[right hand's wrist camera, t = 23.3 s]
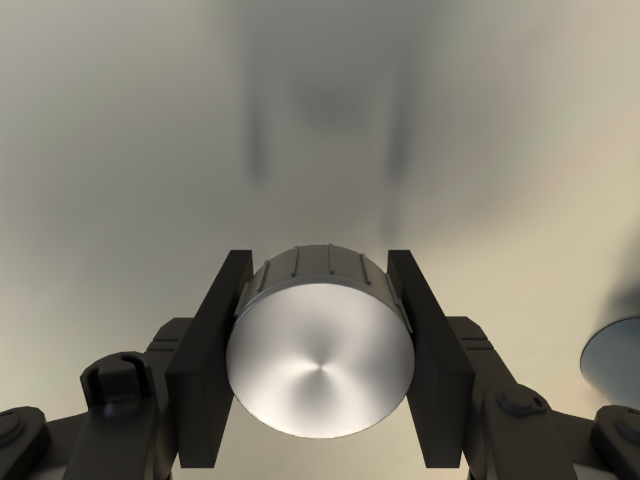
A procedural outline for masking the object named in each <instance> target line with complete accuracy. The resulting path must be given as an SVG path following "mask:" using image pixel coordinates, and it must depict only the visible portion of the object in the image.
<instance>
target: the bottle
mask: <svg viewBox="0 0 640 480" xmlns="http://www.w3.org/2000/svg"><path fill="white" fill-rule="evenodd" d="M581 371H582V375H583V377H584V379H585V380H586V382H587V383H588V384H589V385H590V386H591V387H592V388H593V389H594V390H595V392H596V393H597V394H598V395H599V396H600V397H601V398H602V399H603V400H604V401H605V403H606V404H607V405H620V406H627V407H630V408H633V409H636V410H639V411H640V318H635V319H628V320H623V321H620V322H617V323H615V324H612V325H610V326H609V327H607V328H605V329H604V330H602V331H601V332H599V333H598V334H597V335H596V336H595V337H594V338H593V339H592V340H591V341H590V342H589V344H588V345H587V347H586V348H585V350H584V352H583V355H582V358H581Z"/></svg>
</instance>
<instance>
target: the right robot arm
mask: <svg viewBox="0 0 640 480" xmlns="http://www.w3.org/2000/svg"><path fill="white" fill-rule="evenodd" d="M387 273H388V275H389V277H390V280H391V282H392V285H393V287H394V290H395V292H396V295H397V297H398V299H401V301H402V304H403V307H404V309H405V312H406V315H407V317H408V320H409V323H410V325H411V328H412V331H413V335H412V338H413V342H414V346H415V351H416V360H415V370H414V377H413V381H412V383H411V386H410V388H409V390H408V392H407V394H406V396H407V400H408V403H409V407H410V411H411V414H412V418H413V421H414V425H415V429H416V432H417V436H418V439H419V443H420V447H421V450H422V454H423V457H424V461H425V465H426V468H459V466H460V460H461V455H462V450H463V453H464V455H465V458H466V461H467V463H468V466H469V473H468V478H467V480H640V411H639V410H636V409H633V408H630V407H627V406H620V405H608V406H603V407H602V408H601V409H599V410H598V411H597V413H596V416H595V419H594V421H593V420H589V419H585V418H581V417H576V416H572V415H568V414H564V413H560V412H557V411H554V410H552V409H551V407H550V406H549V404H548V403H547V401H546V400H545V399H544V398H543V397H542V396H541V395H539V394H538V393H537V392H536V391H534V390H532V389H530V388H528V387H526V386H524V385H521V384H518V383H517V382H516V380H515V379H514V377H513V376H512V374H511V373H510V371H509V370H508V368H507V367H506V365H505V364H504V362H503V361H502V359H501V358H500V356H499V355H498V353H497V352H496V350H494V347H493V346H492V344H491V343H490V341H489V340H488V338H487V336H486V335H485V333H484V332H483V330H482V329H481V327H480V326H479V325H477V324H476V323H474V322H473V321H472V320H470V319H469V318H468V317H466V316H445V315H444V313H443V311H442V309H441V307H440V306H439V304H438V302H437V300H436V298H435V296H434V294H433V293H432V291H431V289H430V287H429V285H428V283H427V281H426V280H425V278H424V276H423V274H422V272H421V270H420V269H419V267H418V265H417V263H416V261H415V259H414V257H413V256H412V254H411V252H410V250H388V264H387ZM252 278H253V261H252V250H231V251H230V252H229V254H228V256H227V258H226V260H225V262H224V263H223V265H222V267H221V269H220V271H219V273H218V275H217V276H216V278H215V280H214V282H213V284H212V286H211V288H210V289H209V291H208V293H207V295H206V297H205V299H204V300H203V302H202V304H201V306H200V308H199V310H198V312H197V313H196V315H195V317H194V318H173V319H172V320H170V321H169V322H168V323H166V324H165V325H164V326H162V327H161V328H160V329H159V331H158V332H157V334H156V335H155V337H154V339H153V342H151V343H150V345H149V346H148V348H147V351H146V352H144V354H143V353H139V352H135V351H131V352H119V353H115V354H111V355H108V356H106V357H104V358H102V359H99V360H97V361H96V362H94V363H93V364H91V365H90V366H89V367H87V368H86V369H85V371H84V372H83V373H82V375H81V376H80V381H81V384H82V388H83V392H84V395H85V399H86V402H87V406H88V412H85V413H82V414H79V415H75V416H71V417H67V418H62V419H58V420H54V421H50V422H47V421H46V418H45V415H44V413H43V412H42V411H41V410H40V409H38V408H35V407H29V406H25V407H18V408H12V409H9V410H6V411H4V412H1V413H0V480H173V479H172V473H171V468H172V466H173V463H174V461H175V458H176V455H177V453H179V459H180V465H181V468H214V466H215V462H216V458H217V455H218V451H219V447H220V444H221V440H222V437H223V433H224V429H225V426H226V422H227V419H228V415H229V411H230V408H231V404H232V401H233V397H234V393H233V391H232V389H231V387H230V385H229V383H228V379H227V375H226V367H225V348H226V343H227V340H228V337H229V334H230V332H231V329H232V326H233V323H234V321H235V317H233V316H234V313H235V311H236V308H237V305H238V303H239V300H240V297H241V295H242V292H243V289H244V287H245V284H246V283H249V282H250V281H251V279H252Z"/></svg>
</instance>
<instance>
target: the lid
mask: <svg viewBox="0 0 640 480" xmlns="http://www.w3.org/2000/svg"><path fill="white" fill-rule="evenodd" d="M233 317H235V321H234V323H233V326H232V329H231V332H230V334H229V337H228V340H227V343H226V348H225V367H226V375H227V379H228V383H229V385H230V387H231V389H232V391H233V393H234V395H235V396H236V398H237V399H238V401H239V402H240V403H241V405H242V406H243V407H244V408H245V409H246V410H247V411H248V412H249V413H250V414H251V415H252V416H254V417H255V418H256V419H258V420H259V421H261V422H262V423H264V424H266V425H268V426H269V427H271V428H273V429H276V430H278V431H281V432H283V433H287V434H290V435H294V436H299V437H304V438H335V437H342V436H346V435H351V434H354V433H357V432H360V431H362V430H365V429H367V428H369V427H371V426H373V425H375V424H376V423H378V422H380V421H381V420H383V419H384V418H385V417H387V416H388V415H389V414H390V413H391V412H392V411H393V410H394V409H396V408H397V406H398V405H399V404H400V403H401V401H402V400H403V399H404V397H405V395H406V394H407V392H408V390H409V388H410V386H411V383H412V381H413V377H414V370H415V360H416V351H415V346H414V342H413V338H412V335H413V331H412V328H411V325H410V323H409V320H408V317H407V315H406V312H405V309H404V307H403V304H402V301H401V299H398V297H397V295H396V292H395V290H394V287H393V285H392V282H391V280H390V277H389V275H388V273H386V274H385V273H384V272H383V271H382V270H381V269H380V268H379V267H378V266H377V265H376V264H375V263H374V262H372V261H371V260H369V259H368V258H366V257H365V255H364V254H363V253H361V254H359V253H357V252H355V251H352V250H349V249H346V248H342V247H338V246H333V244H329V245H309V246H302V247H298V246H296V247H295V248H294V249H291V250H288V251H286V252H283V253H281V254H279V255H278V256H276V257H274V258H272V259H271V260H270V261H268V260H267V261H265V263H264V265H263V266H262V267H261V268H260V269H259V270H258V271H257V272H256V274H255V275H254V276H253V278H252V279H251V281H250V282H249V283H246V284H245V287H244V289H243V292H242V295H241V297H240V300H239V303H238V305H237V308H236V311H235V313H234V316H233Z"/></svg>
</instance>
